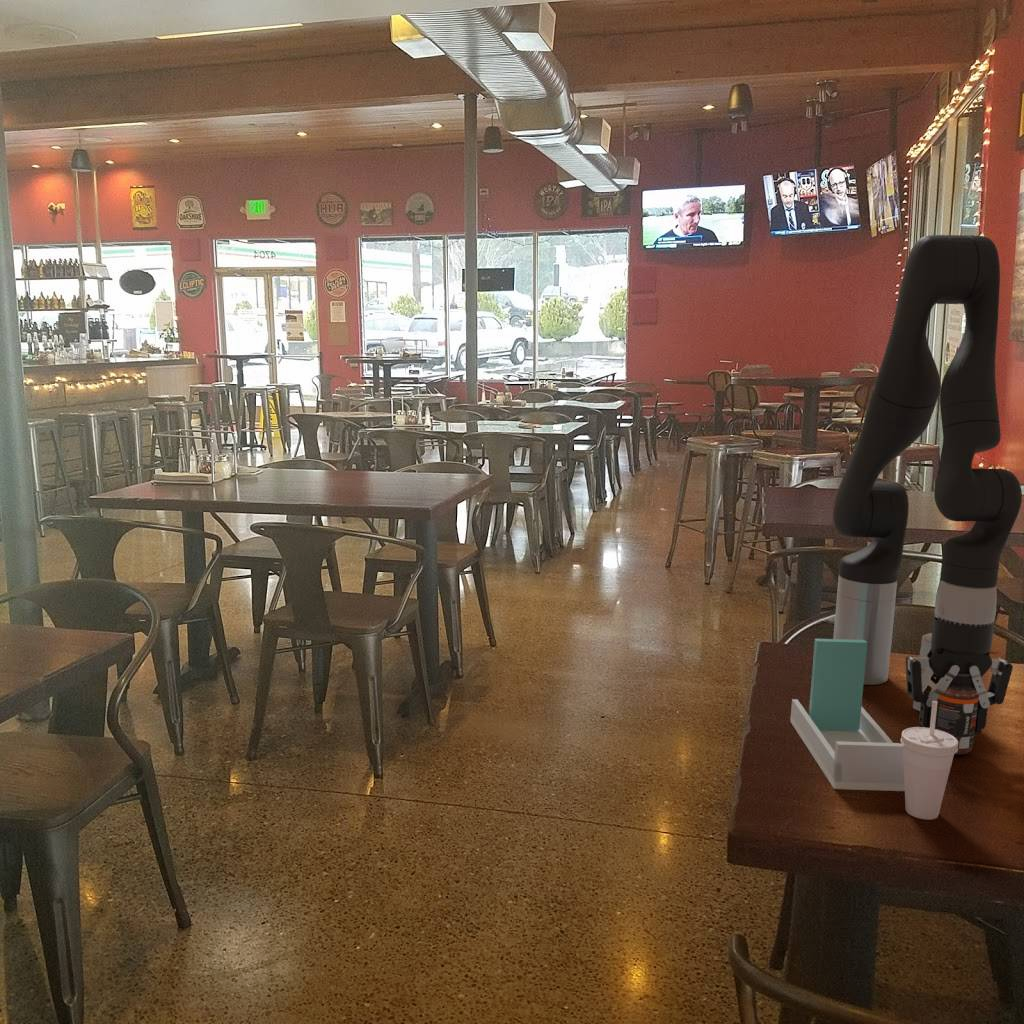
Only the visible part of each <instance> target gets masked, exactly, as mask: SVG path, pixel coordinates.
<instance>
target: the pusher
mask: <svg viewBox="0 0 1024 1024" xmlns="http://www.w3.org/2000/svg"><path fill="white" fill-rule="evenodd" d="M866 652H867V642H866V641H865V640H847V639H833V638H814V646H813V655H812V656H813V659H812V668H811V681H810V682H811V683H810V692H809V693H810V695H809V706H808V715H809V716H810V718H811V719H812V721H813V722H814V723H815V725H816V726H817V728H818V729H844V730H859V728H860V717H861V706H862V707H863V705H862V704H863V693H864V685H865V684H864V674H865V663H866Z"/></svg>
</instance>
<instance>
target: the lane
mask: <svg viewBox="0 0 1024 1024" xmlns="http://www.w3.org/2000/svg"><path fill="white" fill-rule="evenodd" d="M790 710H791V711H790V723H791V724H792V727H793V728H794V730H795V731H796V732H797V735H798V736H799V737H800V738H801V740H802V742H803V744H805V745H804V746H805V747H807V749H808V750H809V751H808V752H809V753H810V754H811V756H812V757H813V758H814V760H815V762H816V763H817V765H818V766H819V768H820V770H821V771H822V773H823V774H824V776H825V777H826V779H827V780H828V782H829V784H830V786H831V787H832V788H833V790H850V791H851V790H853V791H854V790H859V791H860V790H861V791H885V792H889V791H891V792H905V779H904V749H903V744H902V743H901V742H900V743H899V742H893V741H892V740H891V739H890V737H889V736H888V734H886V732H885V731H884V730H883V729H882V728H881V727H880V725H878V723H877V722H876V721H875V720H874V718H872V717H871V715H870V714H869V713H868V712H867V711H866V710H865V708H864V707H863V705H862V706H861V717H860V728H859V730H844V729H818V728H817V726H816V725H815V723H814V722H813V721H812V719H811V718H810V716H809V712H807V711H806V709H805V708H804V706H803V705H802V704H801V703H800V701H799V700H798V699H797V698H796V699H793V698H792V699H791V709H790Z"/></svg>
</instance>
